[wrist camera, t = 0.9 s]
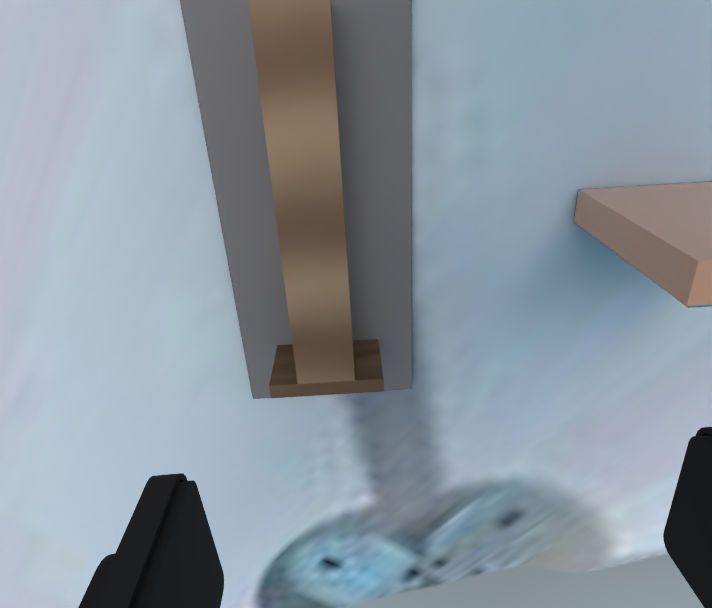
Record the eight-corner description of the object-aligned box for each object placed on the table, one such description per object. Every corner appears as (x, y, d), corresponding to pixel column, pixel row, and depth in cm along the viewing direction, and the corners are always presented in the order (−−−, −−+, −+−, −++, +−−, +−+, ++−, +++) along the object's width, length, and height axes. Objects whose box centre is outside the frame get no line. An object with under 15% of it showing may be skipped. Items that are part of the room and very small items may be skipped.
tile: (578, 189, 27) (698, 261, 18) (728, 180, 27) (922, 247, 18) (573, 227, 28) (684, 313, 19) (717, 218, 28) (896, 299, 19)
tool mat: (171, -69, 21) (166, -72, 21) (408, -83, 21) (410, -87, 21) (254, 392, 32) (253, 398, 32) (410, 383, 32) (412, 388, 32)
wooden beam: (228, 10, 22) (206, 3, 18) (365, 2, 22) (370, -7, 18) (278, 356, 30) (271, 398, 27) (378, 350, 30) (384, 391, 27)
